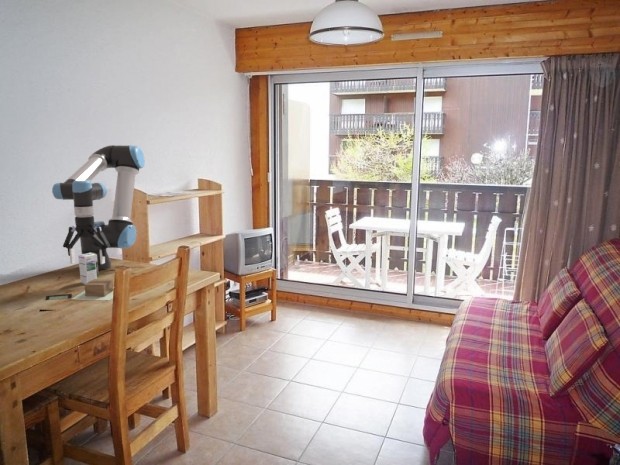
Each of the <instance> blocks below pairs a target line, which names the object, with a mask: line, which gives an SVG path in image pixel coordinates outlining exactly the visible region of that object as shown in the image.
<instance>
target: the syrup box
mask: <svg viewBox="0 0 620 465" xmlns="http://www.w3.org/2000/svg"><path fill="white" fill-rule="evenodd" d="M77 257H78V269H79V268H80V269H79V277H80V283H81V284H86V283H88V282H90V281H91V280H93V279H100V274H99V270H98V262H97V254H95V253H87V254H82V253H81V254H78V256H77Z"/></svg>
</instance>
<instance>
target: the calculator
mask: <svg viewBox="0 0 620 465" xmlns="http://www.w3.org/2000/svg"><path fill="white" fill-rule="evenodd" d="M72 298H73V295H72V293H68V294H67V293H66V294H54V295H53V294H52V295H50V294H49V295H46V296H45V301H51V300H52V301H53V300H67V299H72ZM38 311H39V312H50V311H53V312H54V311H55V309H41V308H40V309H39V310H38Z"/></svg>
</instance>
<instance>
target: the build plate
mask: <svg viewBox="0 0 620 465" xmlns="http://www.w3.org/2000/svg"><path fill="white" fill-rule="evenodd" d="M112 299H114V298H113V291H112V292H111V293H109V294H108V295H106V296H105V297H94V296H85V290H84V291H82V292H80V293H78V294H77V295H75V296H74V297H71V300H76V301H77V300H81V301H82V300H84V301H111V300H112Z"/></svg>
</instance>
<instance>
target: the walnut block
mask: <svg viewBox="0 0 620 465" xmlns="http://www.w3.org/2000/svg"><path fill="white" fill-rule="evenodd" d="M113 280H114V279H112V278H105V279H104V278H99V279H93V280H91V281H90V282H88V283H86V284H84V291H85V296H94V297H105V296H106V295H108V294H109V293H111V292H112V291H113V288H114V281H113Z"/></svg>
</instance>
